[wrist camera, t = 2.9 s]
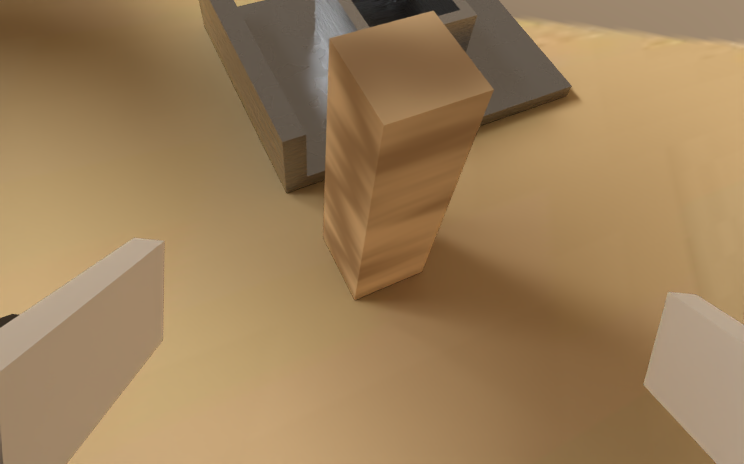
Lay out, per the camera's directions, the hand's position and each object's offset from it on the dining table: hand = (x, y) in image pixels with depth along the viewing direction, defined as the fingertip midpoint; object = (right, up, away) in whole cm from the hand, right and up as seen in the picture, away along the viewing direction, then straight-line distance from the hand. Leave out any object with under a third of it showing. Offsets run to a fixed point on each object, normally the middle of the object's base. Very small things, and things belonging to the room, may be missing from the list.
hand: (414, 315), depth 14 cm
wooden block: (-1, +1, +18) cm, 18 cm away
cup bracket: (0, +15, +26) cm, 30 cm away
